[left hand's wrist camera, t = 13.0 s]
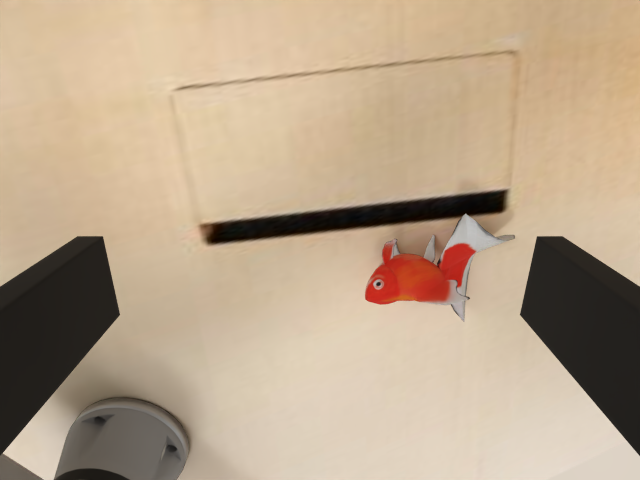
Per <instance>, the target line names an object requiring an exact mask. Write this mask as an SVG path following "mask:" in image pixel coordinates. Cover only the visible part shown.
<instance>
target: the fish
mask: <svg viewBox="0 0 640 480" xmlns="http://www.w3.org/2000/svg"><path fill="white" fill-rule="evenodd" d="M512 239H515V236H514V235H503V236H499V237H495V236H493V235H492V234H490V233H489V232H487V231H486V230H484V229H483V228H482V227H481V226H480V225H479V224H478V223H477V222H476V221H475V220H474V219H472V218H471V217H469V216H468V215H467V214H465V215H464V216H463V217H462V218H461V219H460V220H459V221H458V224H457V226H456V228H455V230H454V232H453V234H452V236H451V238H450V240H449V241H448V243H447V245H446V247H445V249H444V251H443V253H442V255H441V257H440V259H439V261H438V263H437V266H436V265H435V264H433V262H434V260H435V236H434V235H433V236H432V238H431V240H430V242H429V244H428V246H427V248H426V251H425V254H424V257H421V256H418V255H414V254H400V252H399V250H398V248H397V245H396V242H397V239H393V240H392V241H390V242H386V244H385V245H384V248H383V250H382V258H383V263H382V264H381V265H380V266H379V267H378V268H377V269H376V270H375V272H374V273H373V275H372V276H371V278H370V279H369V281H368V283H367V286H366V291H365V299H366V300H367V301H369V302H373V303H377V304H389V303H393V302H395V301H413V300H415V301H418V302H424V303H432V304H440V305H449V304H451V306H452V307H453V309H454V311H455V312H456V313H457V315H458V316H459V317H460V318H461V319H462V320H463V321H464V316H465V300H468V299H470V298H469V297H466V288H467V279H468V274H469V269H470V264H471V261H472V259H473V256H474V255H475V254H476V253H477V252H480V251H482V250H484V249H487V248H489V247H492V246H495V245H498V244H500V243H503V242H506V241H508V240H512Z"/></svg>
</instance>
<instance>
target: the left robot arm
mask: <svg viewBox="0 0 640 480" xmlns="http://www.w3.org/2000/svg"><path fill="white" fill-rule="evenodd" d="M119 315H120V313H119V308H118V304H117V299H116V294H115V290H114V285H113V281H112V276H111V271H110V267H109V262H108V258H107V253H106V249H105V244H104V239H103V236H77V237H76V238H74V239H73V240H71V241H70V242H68V243H67V244H65V245H64V246H62V247H61V248H59V249H58V250H56V251H54V252H53V253H51V254H50V255H48V256H47V257H45V258H44V259H42V260H41V261H39V262H38V263H36V264H34V265H33V266H31V267H30V268H28V269H27V270H25V271H24V272H22V273H21V274H19V275H18V276H16V277H14V278H13V279H11V280H10V281H8V282H7V283H5V284H4V285H2V286H1V287H0V480H43V479H42V478H40V477H39V476H37V475H35V474H34V473H32V472H31V471H29V470H28V469H26V468H25V467H23V466H21V465H20V464H18V463H17V462H15V461H14V460H12V459H10V458H9V457H7V456H6V455H4V454H3V452H4V451H5V450H6V448H7V447H8V446H9V445H10V444H11V443H12V441H13V440H14V439H15V438H16V437H17V435H18V434H19V433H20V432H21V431H22V430H23V428H24V427H25V426H26V425H27V424H28V423H29V421H30V420H31V419H32V418H33V417H34V415H35V414H36V413H37V412H38V411H39V410H40V408H41V407H42V406H43V405H44V404H45V402H46V401H47V400H48V399H49V398H50V397H51V395H52V394H53V393H54V392H55V391H56V389H57V388H58V387H59V386H60V385H61V384H62V382H63V381H64V380H65V379H66V378H67V377H68V375H69V374H70V373H71V372H72V371H73V369H74V368H75V367H76V366H77V365H78V364H79V362H80V361H81V360H82V359H83V358H84V356H85V355H86V354H87V353H88V352H89V351H90V349H91V348H92V347H93V346H94V345H95V344H96V342H97V341H98V340H99V339H100V338H101V336H102V335H103V334H104V333H105V332H106V331H107V329H108V328H109V327H110V326H111V325H112V323H113V322H114V321H115V320H116V319H117V318H118V316H119ZM520 315H521V316H522V318H523V319H524V320H525V321H526V322H527V323H528V325H529V326H530V327H531V328H532V329H533V331H534V332H535V333H536V334H537V335H538V336H539V338H540V339H541V340H542V341H543V342H544V344H545V345H546V346H547V347H548V348H549V349H550V351H551V352H552V353H553V354H554V355H555V356H556V358H557V359H558V360H559V361H560V362H561V364H562V365H563V366H564V367H565V368H566V369H567V371H568V372H569V373H570V374H571V375H572V377H573V378H574V379H575V380H576V381H577V382H578V384H579V385H580V386H581V387H582V388H583V389H584V391H585V392H586V393H587V394H588V395H589V397H590V398H591V399H592V400H593V401H594V402H595V404H596V405H597V406H598V407H599V408H600V410H601V411H602V412H603V413H604V414H605V415H606V417H607V418H608V419H609V420H610V421H611V423H612V424H613V425H614V426H615V427H616V428H617V430H618V431H619V432H620V433H621V434H622V435H623V437H624V438H625V439H626V440H627V441H628V443H629V444H630V445H631V446H632V447H633V448H634V450H635V451H636V452H637V453H638V454H639V455H640V287H639V286H638V285H636V284H635V283H633V282H632V281H630V280H629V279H627V278H626V277H624V276H622V275H621V274H619V273H618V272H616V271H615V270H613V269H612V268H610V267H609V266H607V265H606V264H604V263H602V262H601V261H599V260H598V259H596V258H595V257H593V256H592V255H590V254H589V253H587V252H586V251H584V250H582V249H581V248H579V247H578V246H576V245H575V244H573V243H572V242H570V241H569V240H567V239H566V238H564V237H563V236H537V239H536V244H535V249H534V253H533V258H532V262H531V267H530V271H529V276H528V281H527V285H526V290H525V294H524V299H523V304H522V308H521V313H520ZM188 453H189V442H188V438H187V435H186V433H185V431H184V429H183V427H182V426H181V425H180V423H179V422H178V421H177V420H176V419H175V418H174V417H173V416H172V415H170V414H169V413H168V412H166V411H165V410H163V409H161V408H160V407H158V406H156V405H153V404H151V403H148V402H145V401H141V400H137V399H131V398H111V399H106V400H102V401H99V402H96V403H94V404H92V405H90V406H89V407H87V408H86V409H85V410H83V412H82V413H81V414H80V415H79V416H78V418H77V419H76V420H75V422H74V423H73V425H72V426H71V428H70V430H69V432H68V434H67V437H66V440H65V443H64V447H63V450H62V454H61V457H60V461H59V464H58V468H57V471H56V474H55V478H54V480H177V478H178V477H179V475H180V474H181V472H182V470H183V468H184V465H185V462H186V459H187V457H188Z"/></svg>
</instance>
